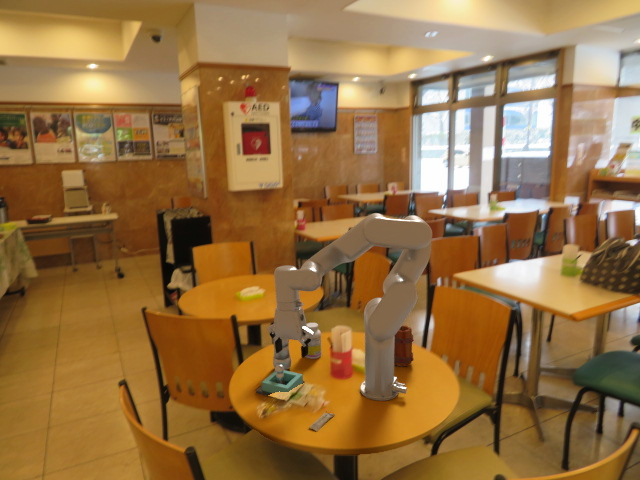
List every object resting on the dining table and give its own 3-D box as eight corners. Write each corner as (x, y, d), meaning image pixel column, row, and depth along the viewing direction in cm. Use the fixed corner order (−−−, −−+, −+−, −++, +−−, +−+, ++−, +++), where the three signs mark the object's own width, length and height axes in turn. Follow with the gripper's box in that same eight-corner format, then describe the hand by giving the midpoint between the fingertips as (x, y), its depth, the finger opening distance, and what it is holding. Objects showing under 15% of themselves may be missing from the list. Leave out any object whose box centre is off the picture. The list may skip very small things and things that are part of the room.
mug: (418, 363, 163) (419, 325, 160) (407, 371, 157) (408, 332, 154) (385, 352, 173) (385, 316, 170) (373, 359, 167) (373, 322, 164)
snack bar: (317, 431, 124) (309, 425, 126) (315, 435, 125) (307, 429, 126) (335, 414, 132) (327, 408, 134) (333, 417, 133) (326, 412, 134)
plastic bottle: (290, 372, 158) (288, 320, 154) (272, 373, 159) (269, 321, 155) (292, 364, 165) (290, 314, 161) (274, 364, 165) (271, 314, 161)
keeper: (304, 383, 151) (303, 360, 149) (286, 401, 140) (285, 376, 139) (275, 376, 156) (273, 354, 154) (255, 393, 146) (254, 369, 144)
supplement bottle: (306, 351, 175) (305, 321, 173) (322, 352, 174) (321, 321, 172) (303, 359, 169) (302, 327, 166) (320, 359, 168) (319, 328, 165)
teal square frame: (303, 382, 150) (302, 374, 149) (288, 397, 141) (287, 388, 140) (278, 376, 154) (277, 368, 153) (262, 390, 145) (261, 382, 145)
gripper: (317, 303, 140) (320, 353, 143) (271, 298, 147) (275, 345, 151) (306, 311, 133) (309, 363, 137) (259, 305, 141) (263, 354, 144)
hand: (291, 353), depth 144 cm, fingers open, 9 cm apart
